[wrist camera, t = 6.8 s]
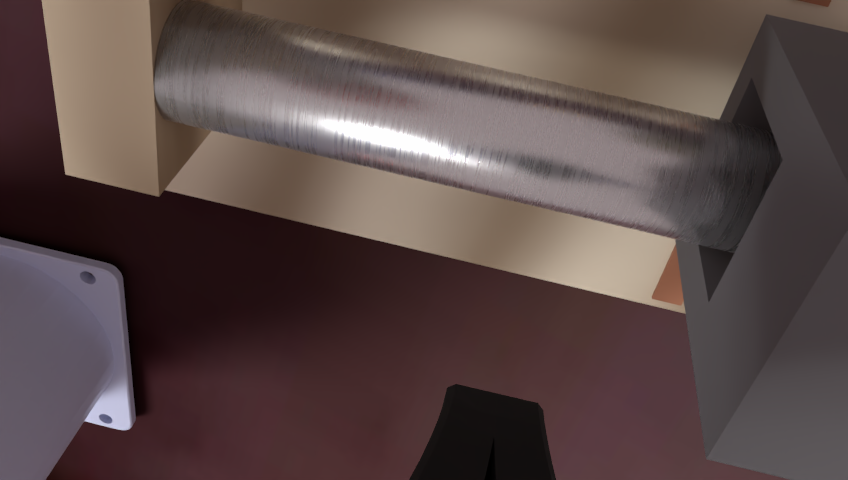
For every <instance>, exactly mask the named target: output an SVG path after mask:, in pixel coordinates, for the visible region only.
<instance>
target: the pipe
mask: <svg viewBox="0 0 848 480" xmlns="http://www.w3.org/2000/svg"><path fill="white" fill-rule="evenodd" d="M153 82H154V96H155V102H156V106H157V109H158V111H159V113H160V115H161V116H162V117H163V118H164V119H165V120H168V121H172V122H176V123H180V124H185V125H189V126H193V127H198V128H202V129H206V130H210V131H215V132H219V133H223V134H227V135H232V136H236V137H240V138H245V139H249V140H253V141H257V142H262V143H266V144H270V145H274V146H279V147H283V148H287V149H292V150H296V151H300V152H304V153H309V154H313V155H317V156H322V157H326V158H330V159H334V160H339V161H343V162H347V163H351V164H356V165H360V166H364V167H369V168H373V169H377V170H381V171H386V172H390V173H394V174H398V175H403V176H407V177H411V178H416V179H420V180H424V181H428V182H433V183H437V184H441V185H446V186H450V187H454V188H458V189H463V190H467V191H471V192H475V193H480V194H484V195H488V196H493V197H497V198H501V199H505V200H510V201H514V202H518V203H522V204H527V205H531V206H535V207H540V208H544V209H548V210H552V211H557V212H561V213H565V214H570V215H574V216H578V217H582V218H587V219H591V220H595V221H599V222H604V223H608V224H612V225H617V226H621V227H625V228H629V229H634V230H638V231H642V232H646V233H651V234H655V235H659V236H664V237H668V238H672V239H676V240H681V241H685V242H689V243H694V244H698V245H702V246H706V247H711V248H715V249H719V250H723V251H728V252H732V253H735V251H736V249H737V247H738V245H739V243H740V241H741V240H742V238H743V236H744V234H745V232H746V230H747V228H748V226H749V224H750V222H751V220H752V218H753V216H754V215H755V213H756V211H757V209H758V207H759V205H760V203H761V201H762V199H763V197H764V195H765V193H766V191H767V189H768V188H769V186H770V184H771V182H772V180H773V178H774V176H775V174H776V172H777V170H778V168H779V166H780V164H781V163H782V161H783V159H782V157H781V154H780V151H779V149H778V146H777V143H776V141H775V138H774V135H773V133H772V131H767V130H763V129H759V128H754V127H750V126H745V125H741V124H737V123H732V122H728V121H724V120H719V119H715V118H710V117H706V116H702V115H697V114H693V113H688V112H684V111H680V110H675V109H671V108H666V107H662V106H658V105H653V104H649V103H645V102H640V101H636V100H631V99H627V98H623V97H618V96H614V95H609V94H605V93H601V92H596V91H592V90H587V89H583V88H579V87H574V86H570V85H566V84H561V83H557V82H552V81H548V80H544V79H539V78H535V77H530V76H526V75H522V74H517V73H513V72H508V71H504V70H500V69H495V68H491V67H487V66H482V65H478V64H473V63H469V62H465V61H460V60H456V59H451V58H447V57H443V56H438V55H434V54H430V53H425V52H421V51H416V50H412V49H408V48H403V47H399V46H394V45H390V44H386V43H381V42H377V41H372V40H368V39H364V38H359V37H355V36H351V35H346V34H342V33H337V32H333V31H329V30H324V29H320V28H315V27H311V26H307V25H302V24H298V23H293V22H289V21H285V20H280V19H276V18H272V17H267V16H263V15H258V14H254V13H250V12H245V11H241V10H236V9H232V8H228V7H223V6H219V5H214V4H210V3H206V2H201V1H197V0H181V1H180V2H179V3H178V4H177V5H176V6H175V7H174V8H173V9H172V11H171V12H170V14H169V16H168V18H167V20H166V22H165V24H164V27H163V29H162V32H161V35H160V39H159V43H158V47H157V51H156V57H155V64H154V78H153Z"/></svg>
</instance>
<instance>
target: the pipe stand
mask: <svg viewBox="0 0 848 480" xmlns="http://www.w3.org/2000/svg"><path fill="white" fill-rule="evenodd" d="M180 1H181V0H42V6H43V13H44V21H45V28H46V36H47V43H48V50H49V58H50V65H51V72H52V80H53V87H54V94H55V102H56V109H57V117H58V124H59V131H60V139H61V146H62V153H63V161H64V168H65V175H70V176H74V177H78V178H82V179H86V180H91V181H95V182H99V183H103V184H107V185H112V186H116V187H120V188H124V189H128V190H133V191H137V192H141V193H145V194H150V195H154V196H158V197H159V196H160V195H161V194H162V193H163V191H164V190H167V191H171V192H175V193H179V194H184V195H188V196H192V197H196V198H201V199H205V200H209V201H213V202H217V203H222V204H226V205H230V206H234V207H238V208H243V209H247V210H251V211H255V212H260V213H264V214H268V215H272V216H276V217H281V218H285V219H289V220H293V221H298V222H302V223H306V224H310V225H314V226H319V227H323V228H327V229H331V230H335V231H340V232H344V233H348V234H352V235H357V236H361V237H365V238H369V239H373V240H378V241H382V242H386V243H390V244H394V245H399V246H403V247H407V248H411V249H416V250H420V251H424V252H428V253H432V254H437V255H441V256H445V257H449V258H453V259H458V260H462V261H466V262H470V263H475V264H479V265H483V266H487V267H491V268H496V269H500V270H504V271H508V272H513V273H517V274H521V275H525V276H529V277H534V278H538V279H542V280H546V281H550V282H555V283H559V284H563V285H567V286H572V287H576V288H580V289H584V290H588V291H593V292H597V293H601V294H605V295H609V296H614V297H618V298H622V299H626V300H631V301H635V302H639V303H643V304H647V305H652V306H656V307H660V308H664V309H669V310H673V311H677V312H681V313H685V306H684V299H683V292H682V285H681V278H680V270H679V263H678V256H677V249H676V242H675V239H672V238H668V237H664V236H659V235H655V234H651V233H646V232H642V231H638V230H634V229H629V228H625V227H621V226H617V225H612V224H608V223H604V222H599V221H595V220H591V219H587V218H582V217H578V216H574V215H570V214H565V213H561V212H557V211H552V210H548V209H544V208H540V207H535V206H531V205H527V204H522V203H518V202H514V201H510V200H505V199H501V198H497V197H493V196H488V195H484V194H480V193H475V192H471V191H467V190H463V189H458V188H454V187H450V186H446V185H441V184H437V183H433V182H428V181H424V180H420V179H416V178H411V177H407V176H403V175H398V174H394V173H390V172H386V171H381V170H377V169H373V168H369V167H364V166H360V165H356V164H351V163H347V162H343V161H339V160H334V159H330V158H326V157H322V156H317V155H313V154H309V153H304V152H300V151H296V150H292V149H287V148H283V147H279V146H274V145H270V144H266V143H262V142H257V141H253V140H249V139H245V138H240V137H236V136H232V135H227V134H223V133H219V132H215V131H210V130H206V129H202V128H198V127H193V126H189V125H185V124H180V123H176V122H172V121H168V120H165V119H164V118H163V117H162V116H161V115H160V113H159V111H158V109H157V106H156V102H155V96H154V82H153V78H154V64H155V57H156V51H157V47H158V43H159V39H160V35H161V32H162V29H163V27H164V24H165V22H166V20H167V18H168V16H169V14H170V12H171V11H172V9H173V8H174V7H175V6H176V5H177V4H178V3H179V2H180ZM197 1H201V2H206V3H210V4H214V5H219V6H223V7H228V8H232V9H236V10H241V11H245V12H250V13H254V14H258V15H263V16H267V17H272V18H276V19H280V20H285V21H289V22H293V23H298V24H302V25H307V26H311V27H315V28H320V29H324V30H329V31H333V32H337V33H342V34H346V35H351V36H355V37H359V38H364V39H368V40H372V41H377V42H381V43H386V44H390V45H394V46H399V47H403V48H408V49H412V50H416V51H421V52H425V53H430V54H434V55H438V56H443V57H447V58H451V59H456V60H460V61H465V62H469V63H473V64H478V65H482V66H487V67H491V68H495V69H500V70H504V71H508V72H513V73H517V74H522V75H526V76H530V77H535V78H539V79H544V80H548V81H552V82H557V83H561V84H566V85H570V86H574V87H579V88H583V89H587V90H592V91H596V92H601V93H605V94H609V95H614V96H618V97H623V98H627V99H631V100H636V101H640V102H645V103H649V104H653V105H658V106H662V107H666V108H671V109H675V110H680V111H684V112H688V113H693V114H697V115H702V116H706V117H710V118H715V119H720V117H721V115H722V112H723V110H724V108H725V106H726V103H727V101H728V99H729V97H730V94H731V92H732V90H733V88H734V85H735V83H736V81H737V79H738V76H739V74H740V72H741V70H742V67H743V65H744V63H745V61H746V58H747V56H748V54H749V52H750V49H751V47H752V45H753V43H754V40H755V38H756V36H757V34H758V31H759V29H760V27H761V25H762V22H763V20H764V18H765V16H766V14H768V15H772V16H777V17H781V18H786V19H790V20H795V21H799V22H804V23H808V24H813V25H817V26H822V27H826V28H831V29H835V30H840V31H844V32H848V0H197ZM685 314H686V313H685Z"/></svg>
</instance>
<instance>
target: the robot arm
mask: <svg viewBox="0 0 848 480" xmlns="http://www.w3.org/2000/svg"><path fill="white" fill-rule="evenodd" d="M88 272H89V273H91V274H92V275H91V274H89V273H88ZM135 419H136V415H135V404H134V393H133V382H132V371H131V360H130V349H129V338H128V327H127V316H126V305H125V295H124V284H123V277H122V274H121V272H120V271H119V270H118V268H116V267H115V266H113V265H111V264H109V263H105V262H101V261H97V260H93V259H89V258H85V257H80V256H76V255H72V254H68V253H64V252H60V251H56V250H51V249H47V248H43V247H39V246H35V245H31V244H27V243H22V242H18V241H14V240H10V239H6V238H2V237H0V480H46V478H47V477H48V475H49V474H50V472H51V470H52V469H53V467H54V466H55V464H56V463H57V461H58V460H59V458H60V457H61V455H62V454H63V452H64V451H65V449H66V448H67V446H68V445H69V443H70V442H71V440H72V439H73V437H74V436H75V434H76V433H77V431H78V430H79V428H80V427H81V425H82V424H83V422H84V421H86V422H90V423H94V424H98V425H102V426H106V427H110V428H114V429H118V430H128V429H130V428H131V427H132V426H133V424H134V422H135ZM409 480H556V478H555V474H554V469H553V465H552V461H551V456H550V451H549V446H548V441H547V435H546V429H545V423H544V415H543V410H542V408H541V407H540V406H539V404H538V403H535V402H531V401H526V400H522V399H518V398H513V397H509V396H505V395H501V394H496V393H492V392H488V391H483V390H479V389H475V388H471V387H466V386H462V385H458V384H456V385H453V386H450V387H448V388H447V391H446V395H445V399H444V403H443V407H442V410H441V413H440V416H439V419H438V421H437V424H436V426H435V429H434V431H433V433H432V436H431V438H430V440H429V442H428V444H427V446H426V449H425V451H424V453H423V455H422V457H421V459H420V461H419V463H418V465H417V466H416V468H415V470H414V472H413V474H412V476H411V477H410V479H409Z"/></svg>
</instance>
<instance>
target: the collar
mask: <svg viewBox="0 0 848 480" xmlns="http://www.w3.org/2000/svg"><path fill="white" fill-rule="evenodd" d="M719 120H724V121H728V122H732V123H737V124H741V125H745V126H750V127H754V128H759V129H763V130H767V131H772V133H773V135H774V138H775V141H776V143H777V146H778V149H779V151H780V154H781V157H782V159H783V161H782V163H781V164H780V166H779V168H778V170H777V172H776V174H775V176H774V178H773V180H772V182H771V184H770V186H769V188H768V189H767V191H766V193H765V195H764V197H763V199H762V201H761V203H760V205H759V207H758V209H757V211H756V213H755V215H754V216H753V218H752V220H751V222H750V224H749V226H748V228H747V230H746V232H745V234H744V236H743V238H742V240H741V241H740V243H739V245H738V247H737V249H736V251H735V253H732V252H728V251H723V250H719V249H715V248H711V247H706V246H702V245H698V244H694V243H689V242H685V241H681V240H676V239H675V242H676V249H677V256H678V263H679V270H680V278H681V285H682V292H683V299H684V306H685V313H686V320H687V327H688V334H689V341H690V348H691V355H692V362H693V369H694V377H695V384H696V391H697V398H698V405H699V412H700V419H701V426H702V433H703V440H704V447H705V454H706V459H708V460H712V461H716V462H721V463H725V464H729V465H733V466H737V467H741V468H745V469H749V470H753V471H757V472H762V473H766V474H770V475H774V476H778V477H782V478H786V479H790V480H848V32H844V31H840V30H835V29H831V28H826V27H822V26H817V25H813V24H808V23H804V22H799V21H795V20H790V19H786V18H781V17H777V16H772V15H768V14H766V16H765V18H764V20H763V22H762V25H761V27H760V29H759V31H758V34H757V36H756V38H755V40H754V43H753V45H752V47H751V49H750V52H749V54H748V56H747V58H746V61H745V63H744V65H743V67H742V70H741V72H740V74H739V76H738V79H737V81H736V83H735V85H734V88H733V90H732V92H731V94H730V97H729V99H728V101H727V103H726V106H725V108H724V110H723V112H722V115H721V117H720V119H719Z"/></svg>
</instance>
